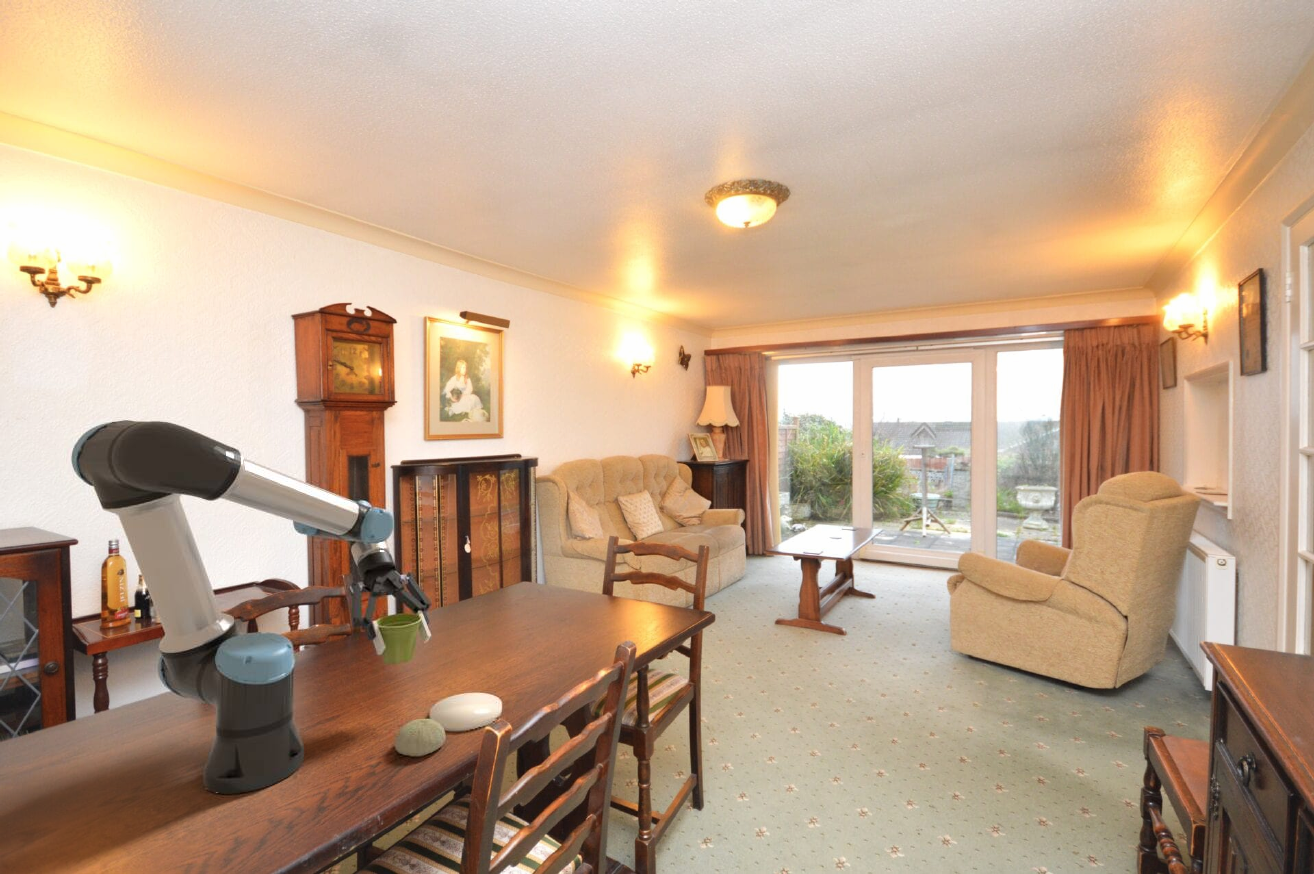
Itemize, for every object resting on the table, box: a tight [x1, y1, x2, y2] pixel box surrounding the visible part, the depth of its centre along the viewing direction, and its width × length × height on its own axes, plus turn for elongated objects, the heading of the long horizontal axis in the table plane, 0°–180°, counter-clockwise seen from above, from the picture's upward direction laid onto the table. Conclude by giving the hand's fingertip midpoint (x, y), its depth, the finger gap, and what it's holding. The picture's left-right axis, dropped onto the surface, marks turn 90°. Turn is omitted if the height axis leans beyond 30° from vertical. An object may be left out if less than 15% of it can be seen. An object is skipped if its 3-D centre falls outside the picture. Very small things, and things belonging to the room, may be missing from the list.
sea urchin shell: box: [394, 718, 447, 758], centre depth 119 cm, size 9×8×8 cm
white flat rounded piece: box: [429, 692, 503, 732], centre depth 132 cm, size 15×15×2 cm
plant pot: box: [375, 613, 422, 665], centre depth 132 cm, size 9×9×9 cm
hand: (405, 645), depth 130 cm, fingers closed on plant pot, 9 cm apart
